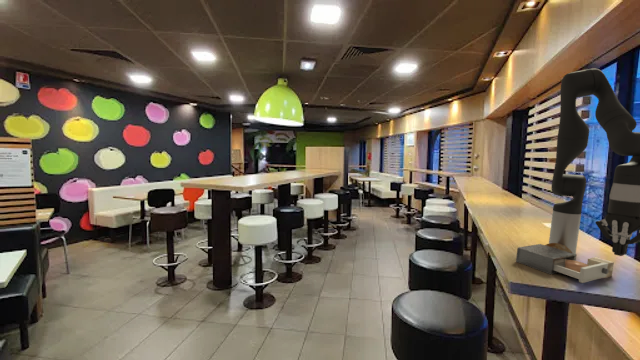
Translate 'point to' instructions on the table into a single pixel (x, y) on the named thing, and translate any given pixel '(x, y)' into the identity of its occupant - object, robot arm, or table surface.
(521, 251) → the player housing
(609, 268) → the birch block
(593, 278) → the tray
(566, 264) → the coaster
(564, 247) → the bread roll
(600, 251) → the table surface
